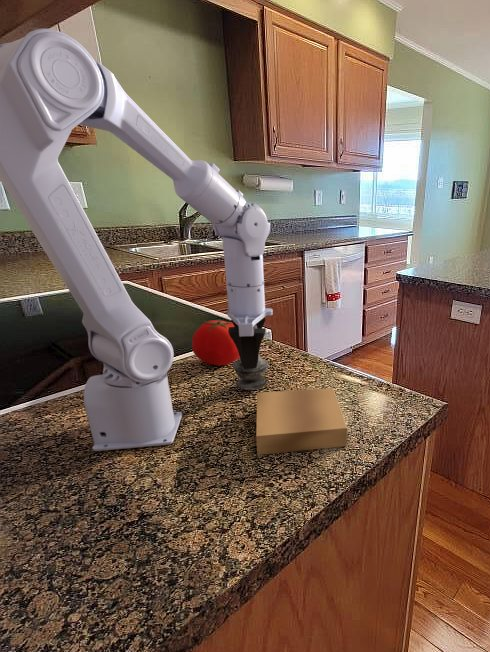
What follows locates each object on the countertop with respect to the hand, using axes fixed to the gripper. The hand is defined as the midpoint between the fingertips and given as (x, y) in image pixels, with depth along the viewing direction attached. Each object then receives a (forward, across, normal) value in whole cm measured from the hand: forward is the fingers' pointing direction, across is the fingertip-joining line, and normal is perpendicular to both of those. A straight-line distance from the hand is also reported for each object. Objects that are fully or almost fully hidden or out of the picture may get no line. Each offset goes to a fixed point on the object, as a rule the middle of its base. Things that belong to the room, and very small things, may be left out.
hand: (250, 362), depth 68 cm
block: (+5, -14, -7) cm, 16 cm away
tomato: (+5, +12, +6) cm, 14 cm away
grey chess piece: (+4, 0, 0) cm, 4 cm away
